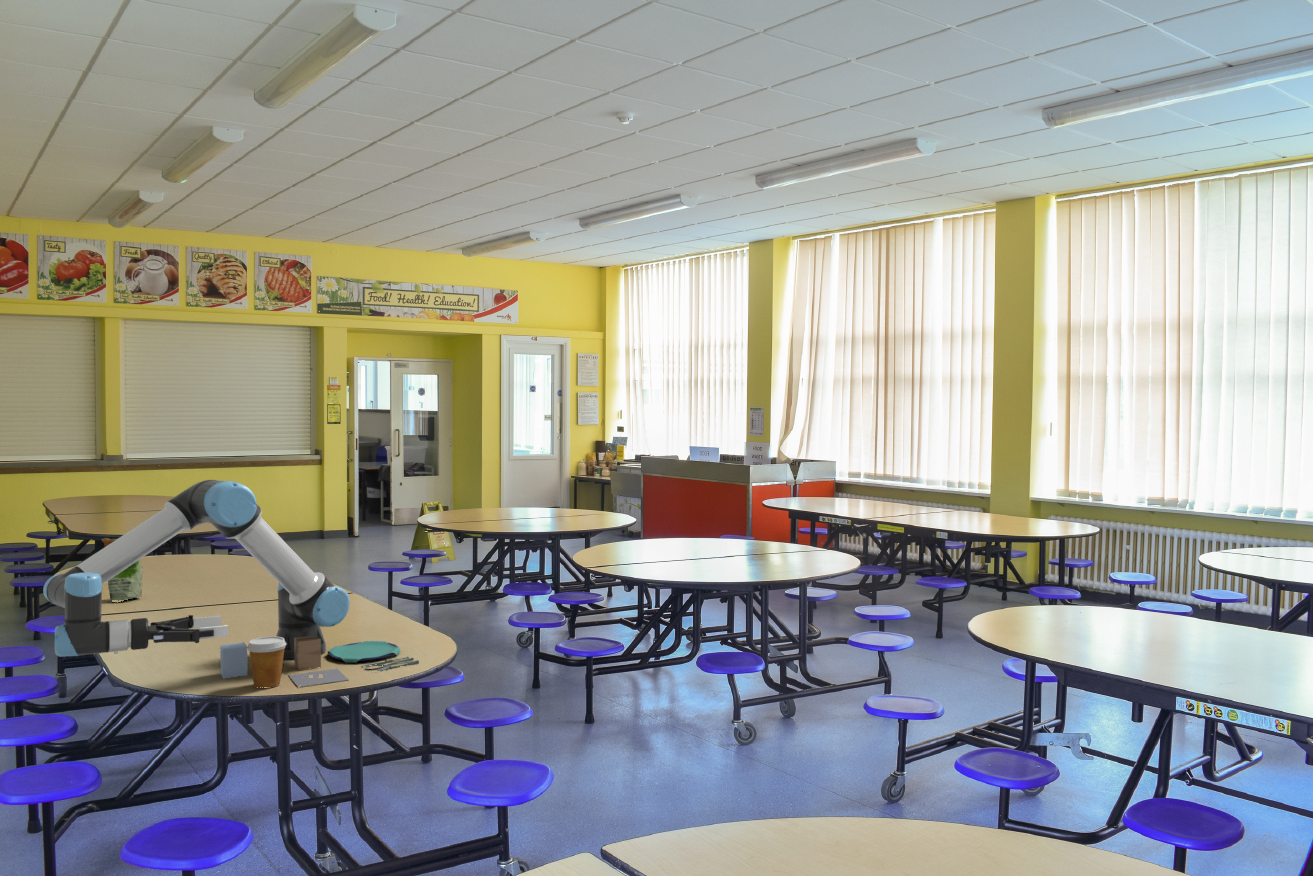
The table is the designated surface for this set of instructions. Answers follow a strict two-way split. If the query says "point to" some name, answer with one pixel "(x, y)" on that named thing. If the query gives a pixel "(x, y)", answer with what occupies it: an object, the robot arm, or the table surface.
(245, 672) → the slate block
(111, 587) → the pouch
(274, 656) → the disposable coffee cup
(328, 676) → the mat
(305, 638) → the walnut block
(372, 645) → the cutlery set
